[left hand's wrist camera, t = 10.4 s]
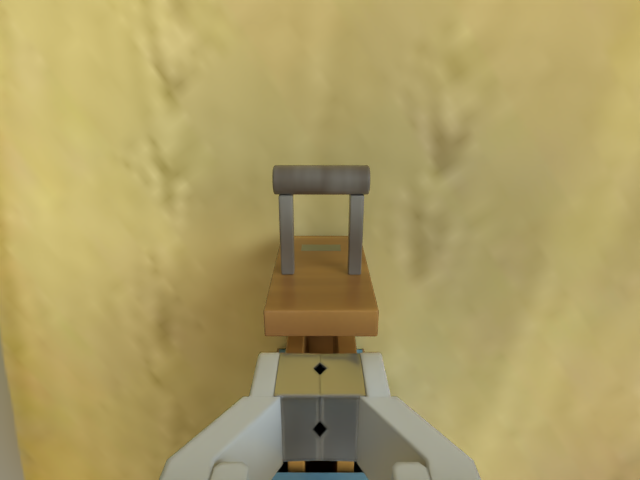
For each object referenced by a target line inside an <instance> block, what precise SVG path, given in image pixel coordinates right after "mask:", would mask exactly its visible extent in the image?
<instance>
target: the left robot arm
mask: <svg viewBox="0 0 640 480" xmlns="http://www.w3.org/2000/svg"><path fill="white" fill-rule="evenodd" d="M288 461H351V462H357V464H358V465H359V467H360V468H361V470H362V471H363V472H364V474H365V475H366V477H367V478H368V479H369V480H481V478H480V476H479V473H478V471H477V468H476V466H475V463H474V461H473V460H472V459H471V458H470V457H469V456H467V455H466V454H465V453H464V452H463V451H461V450H460V449H459V448H458V447H457V446H455V445H454V444H453V443H452V442H451V441H450V440H448V439H447V438H446V437H445V436H444V435H442V434H441V433H440V432H439V431H438V430H436V429H435V428H434V427H433V426H432V425H430V424H429V423H428V422H427V421H426V420H424V419H423V418H422V417H421V416H420V415H418V414H417V413H416V412H415V411H414V410H412V409H411V408H410V407H409V406H408V405H406V404H405V403H404V402H403V401H402V400H401V399H399V398H398V397H392V396H391V394H390V390H389V385H388V381H387V377H386V372H385V368H384V363H383V359H382V355H381V353H380V352H369V353H345V354H320V353H279V352H260V354H259V355H258V359H257V363H256V368H255V372H254V376H253V381H252V385H251V390H250V394H249V396H248V397H242V398H241V399H240V400H238V401H237V402H236V403H235V404H234V405H232V406H231V407H230V408H229V409H228V410H226V411H225V412H224V413H223V414H221V415H220V416H219V417H218V418H217V419H215V420H214V421H213V422H212V423H211V424H209V425H208V426H207V427H206V428H205V429H203V430H202V431H201V432H200V433H199V434H197V435H196V436H195V437H194V438H193V439H191V440H190V441H189V442H188V443H187V444H185V445H184V446H183V447H182V448H181V449H179V450H178V451H177V452H176V453H175V454H173V455H172V456H171V457H170V458H169V459H167V461H166V464H165V466H164V468H163V471H162V473H161V476H160V478H159V480H272V478H273V477H274V476H275V474H276V473H277V471H278V470H279V469H280V467H281V466H282V465H283V462H288Z"/></svg>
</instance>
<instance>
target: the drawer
mask: <svg viewBox="0 0 640 480" xmlns="http://www.w3.org/2000/svg"><path fill="white" fill-rule="evenodd" d="M369 190H370V168H369V166H332V165H275V166H274V167H273V191H274V194H279V222H280V246H279V250H278V254H277V259H276V263H275V267H274V271H273V275H272V279H271V283H270V287H269V291H268V296H267V300H266V304H265V308H264V328H265V336H287V343H286V351H285V353H320V354H345V353H357V349H356V342H355V336H377V334H378V317H379V310H378V306H377V302H376V298H375V294H374V290H373V286H372V282H371V278H370V274H369V270H368V266H367V262H366V258H365V254H364V250H363V246H362V237H363V211H364V195H363V194H368V193H369ZM293 194H349V231H348V236H294V213H293ZM288 472H353V473H354V462H351V461H288Z"/></svg>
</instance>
